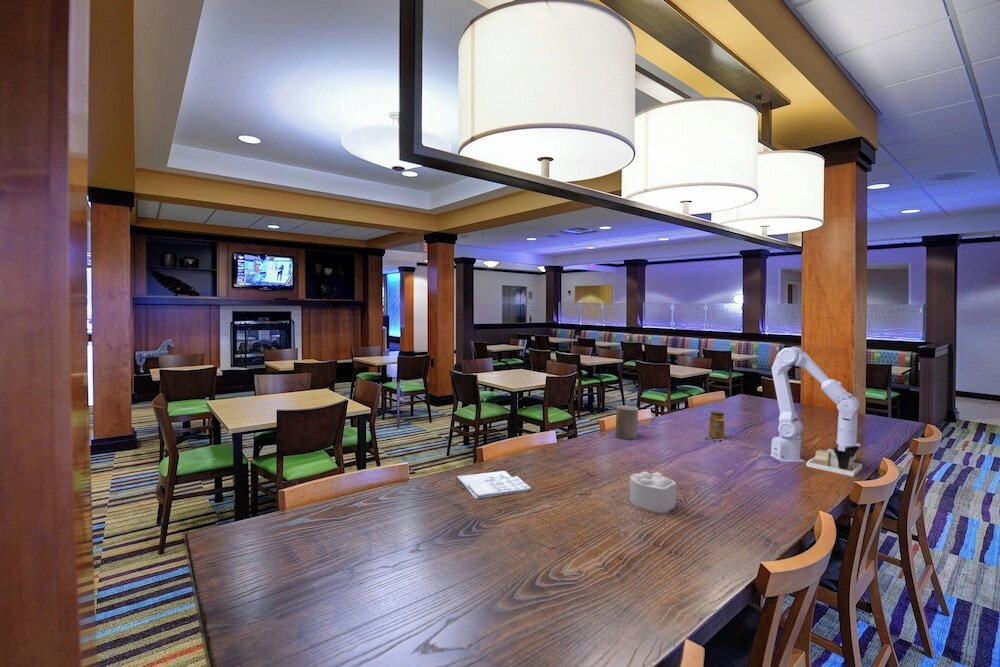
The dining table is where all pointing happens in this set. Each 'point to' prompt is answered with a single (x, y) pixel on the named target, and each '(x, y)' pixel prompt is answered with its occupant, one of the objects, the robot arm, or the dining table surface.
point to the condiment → (716, 425)
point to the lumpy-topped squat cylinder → (652, 492)
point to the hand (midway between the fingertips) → (845, 466)
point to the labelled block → (850, 465)
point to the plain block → (823, 458)
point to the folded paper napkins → (493, 484)
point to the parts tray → (834, 467)
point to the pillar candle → (626, 422)
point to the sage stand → (835, 454)
